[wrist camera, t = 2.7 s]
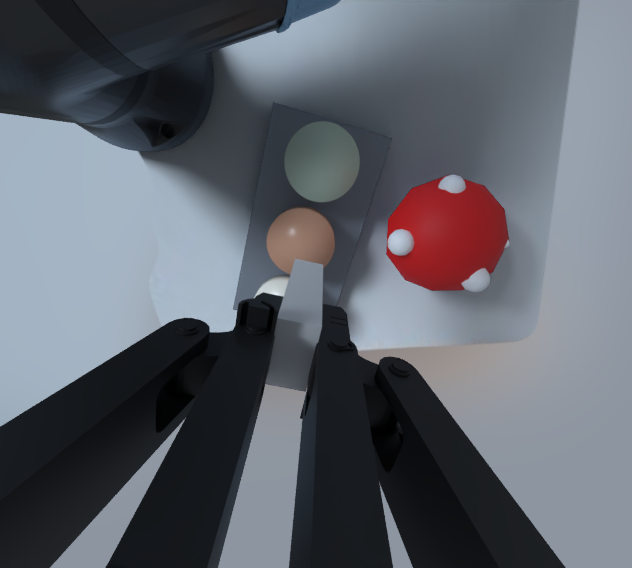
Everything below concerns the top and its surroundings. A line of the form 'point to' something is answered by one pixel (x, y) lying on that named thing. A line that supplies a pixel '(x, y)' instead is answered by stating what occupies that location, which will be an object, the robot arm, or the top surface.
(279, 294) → the white flat dome
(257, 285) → the button board
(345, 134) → the sage cap
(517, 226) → the top surface
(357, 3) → the top surface
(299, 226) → the terracotta cap
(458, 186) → the mushroom
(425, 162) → the top surface
